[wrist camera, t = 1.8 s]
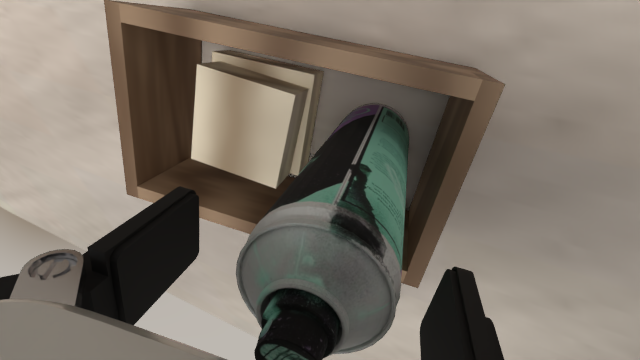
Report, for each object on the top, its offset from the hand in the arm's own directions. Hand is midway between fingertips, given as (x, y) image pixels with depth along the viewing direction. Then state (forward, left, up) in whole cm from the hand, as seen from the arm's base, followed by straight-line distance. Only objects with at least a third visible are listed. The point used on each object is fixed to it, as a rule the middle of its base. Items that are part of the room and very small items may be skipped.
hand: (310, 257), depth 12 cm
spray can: (0, 0, -16) cm, 16 cm away
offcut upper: (+7, -5, -13) cm, 16 cm away
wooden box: (+4, -3, -16) cm, 17 cm away
